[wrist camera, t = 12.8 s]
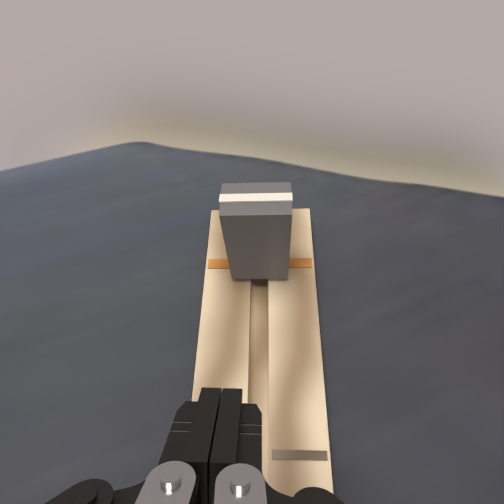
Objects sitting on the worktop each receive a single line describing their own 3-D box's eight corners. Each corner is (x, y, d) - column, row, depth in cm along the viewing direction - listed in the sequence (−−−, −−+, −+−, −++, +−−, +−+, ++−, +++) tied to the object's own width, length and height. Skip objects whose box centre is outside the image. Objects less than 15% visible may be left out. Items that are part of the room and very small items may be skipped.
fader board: (185, 521, 25) (178, 523, 23) (214, 222, 39) (211, 209, 38) (331, 525, 25) (336, 528, 23) (307, 220, 39) (309, 207, 37)
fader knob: (232, 287, 34) (217, 214, 25) (234, 260, 35) (220, 182, 26) (288, 287, 34) (293, 213, 25) (287, 259, 35) (291, 180, 26)
